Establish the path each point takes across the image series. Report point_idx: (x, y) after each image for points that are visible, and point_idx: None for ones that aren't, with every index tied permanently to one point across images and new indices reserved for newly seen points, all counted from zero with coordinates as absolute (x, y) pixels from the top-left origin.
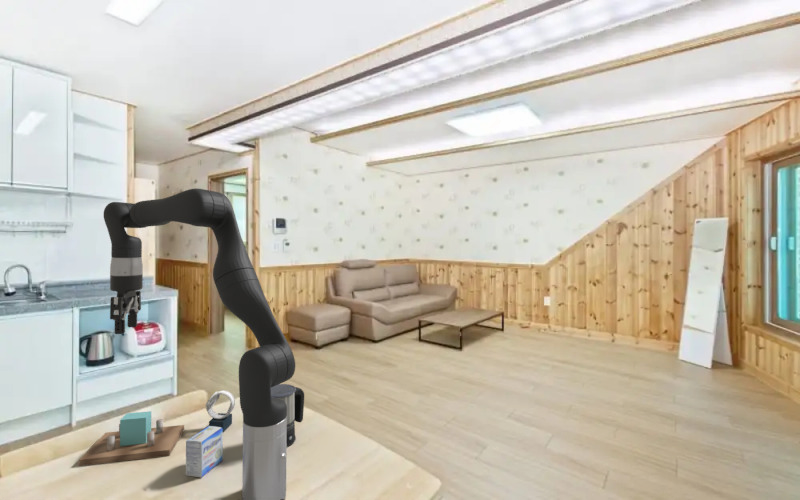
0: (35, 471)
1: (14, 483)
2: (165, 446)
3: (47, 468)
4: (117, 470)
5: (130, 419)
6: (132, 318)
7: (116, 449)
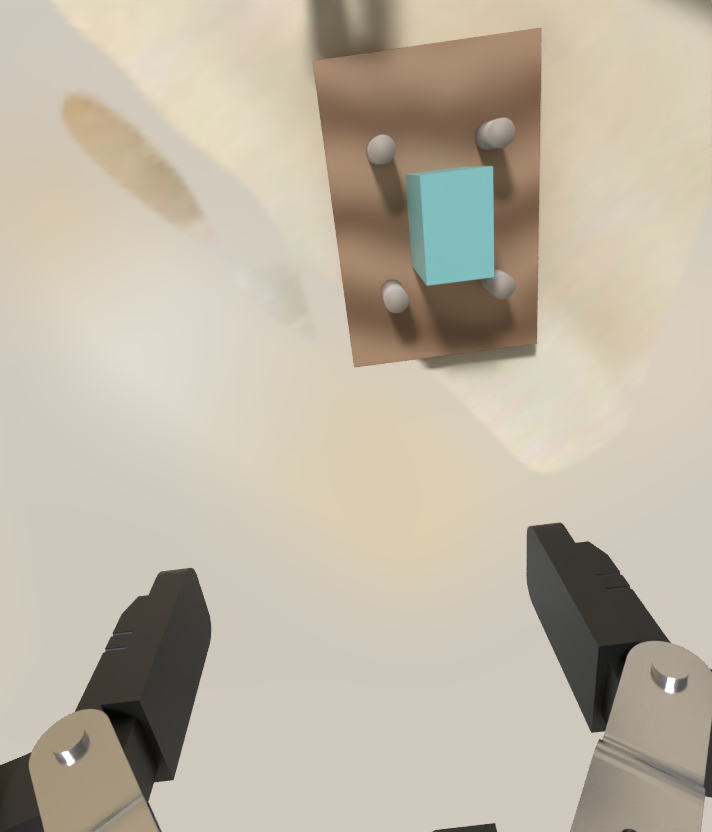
0: (530, 435)
1: (580, 446)
2: (509, 61)
3: (521, 416)
4: (591, 195)
5: (492, 235)
6: (172, 682)
7: None
